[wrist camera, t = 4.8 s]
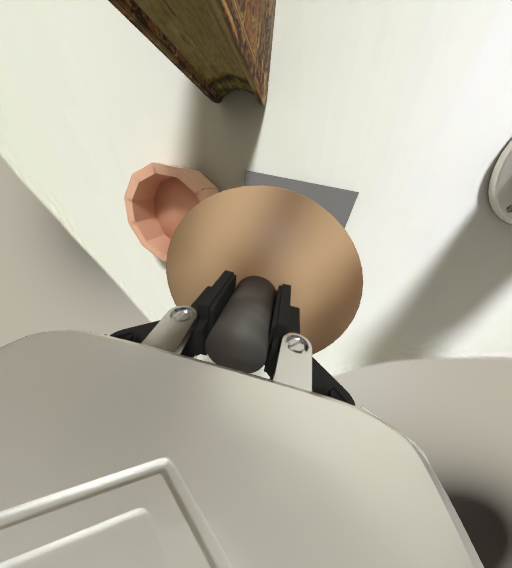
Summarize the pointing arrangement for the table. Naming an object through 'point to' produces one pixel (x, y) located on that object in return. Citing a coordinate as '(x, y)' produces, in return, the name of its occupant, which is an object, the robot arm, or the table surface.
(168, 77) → the table surface
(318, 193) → the mat
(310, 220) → the lid
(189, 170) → the bowl
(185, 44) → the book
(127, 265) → the table surface
